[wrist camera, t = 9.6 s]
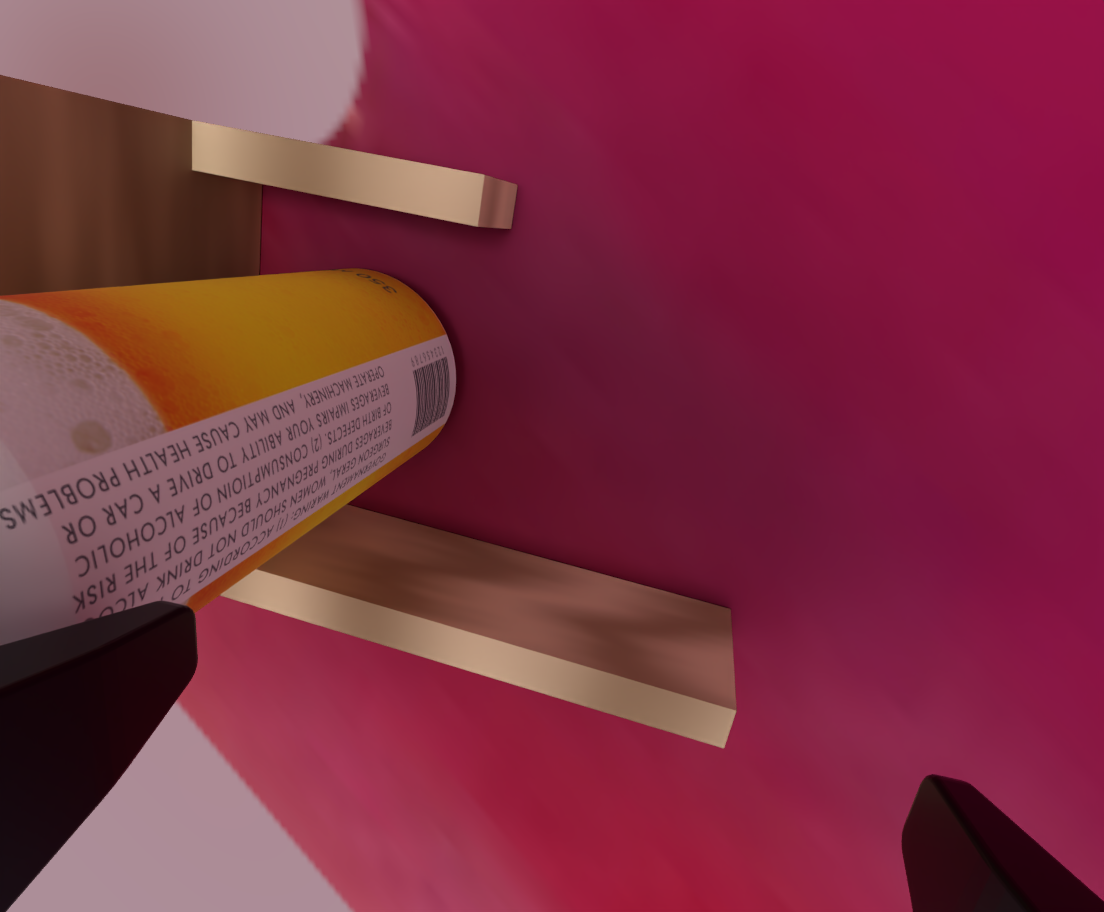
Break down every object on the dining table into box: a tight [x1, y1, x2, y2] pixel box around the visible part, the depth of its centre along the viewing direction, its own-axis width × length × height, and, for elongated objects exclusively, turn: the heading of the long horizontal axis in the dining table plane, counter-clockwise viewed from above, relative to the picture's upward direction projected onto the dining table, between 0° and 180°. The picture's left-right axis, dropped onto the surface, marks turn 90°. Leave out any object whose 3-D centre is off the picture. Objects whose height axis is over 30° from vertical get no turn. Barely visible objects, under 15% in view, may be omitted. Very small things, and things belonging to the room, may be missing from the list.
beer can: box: [0, 268, 456, 645], centre depth 15 cm, size 6×6×15 cm
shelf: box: [0, 75, 737, 748], centre depth 17 cm, size 19×12×9 cm, turn 80°
